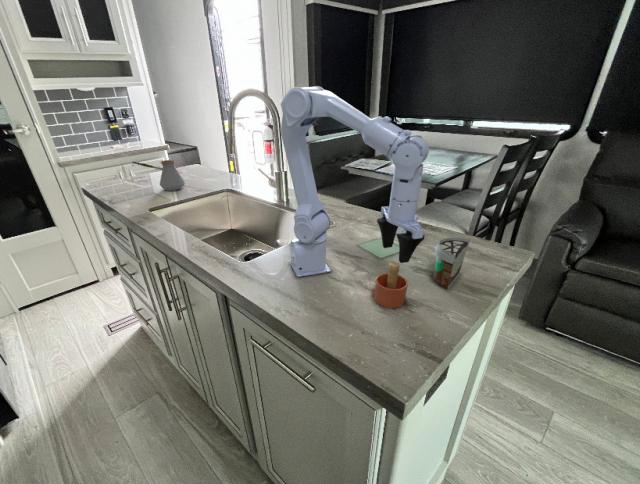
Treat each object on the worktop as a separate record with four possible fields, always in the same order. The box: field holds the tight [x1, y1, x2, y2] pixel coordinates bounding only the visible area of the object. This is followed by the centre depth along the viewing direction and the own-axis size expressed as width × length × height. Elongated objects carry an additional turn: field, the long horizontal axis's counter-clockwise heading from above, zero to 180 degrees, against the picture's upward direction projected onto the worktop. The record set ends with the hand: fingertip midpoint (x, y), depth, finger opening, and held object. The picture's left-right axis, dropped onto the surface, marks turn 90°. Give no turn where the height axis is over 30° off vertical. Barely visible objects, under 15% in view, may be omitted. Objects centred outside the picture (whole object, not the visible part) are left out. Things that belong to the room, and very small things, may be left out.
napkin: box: [358, 237, 399, 259], centre depth 100 cm, size 10×10×1 cm
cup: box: [373, 272, 409, 309], centre depth 76 cm, size 7×7×5 cm
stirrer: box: [386, 261, 401, 289], centre depth 74 cm, size 2×2×9 cm
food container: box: [433, 236, 470, 290], centre depth 82 cm, size 12×6×10 cm, turn 141°
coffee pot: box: [131, 159, 186, 192], centre depth 150 cm, size 21×12×15 cm, turn 131°
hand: (395, 254), depth 75 cm, fingers open, 7 cm apart
